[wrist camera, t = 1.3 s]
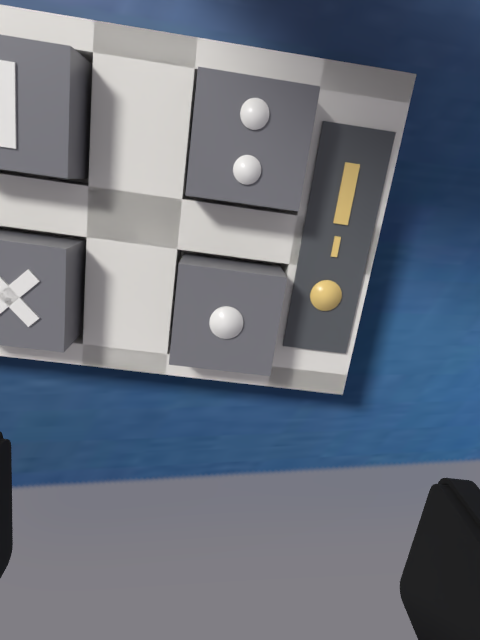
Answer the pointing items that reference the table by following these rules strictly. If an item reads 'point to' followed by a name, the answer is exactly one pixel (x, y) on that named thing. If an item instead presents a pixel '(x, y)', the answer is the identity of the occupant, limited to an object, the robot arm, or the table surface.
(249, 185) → the pair key
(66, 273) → the cross key
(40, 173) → the bar key
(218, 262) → the dot key
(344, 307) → the keypad
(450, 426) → the table surface
